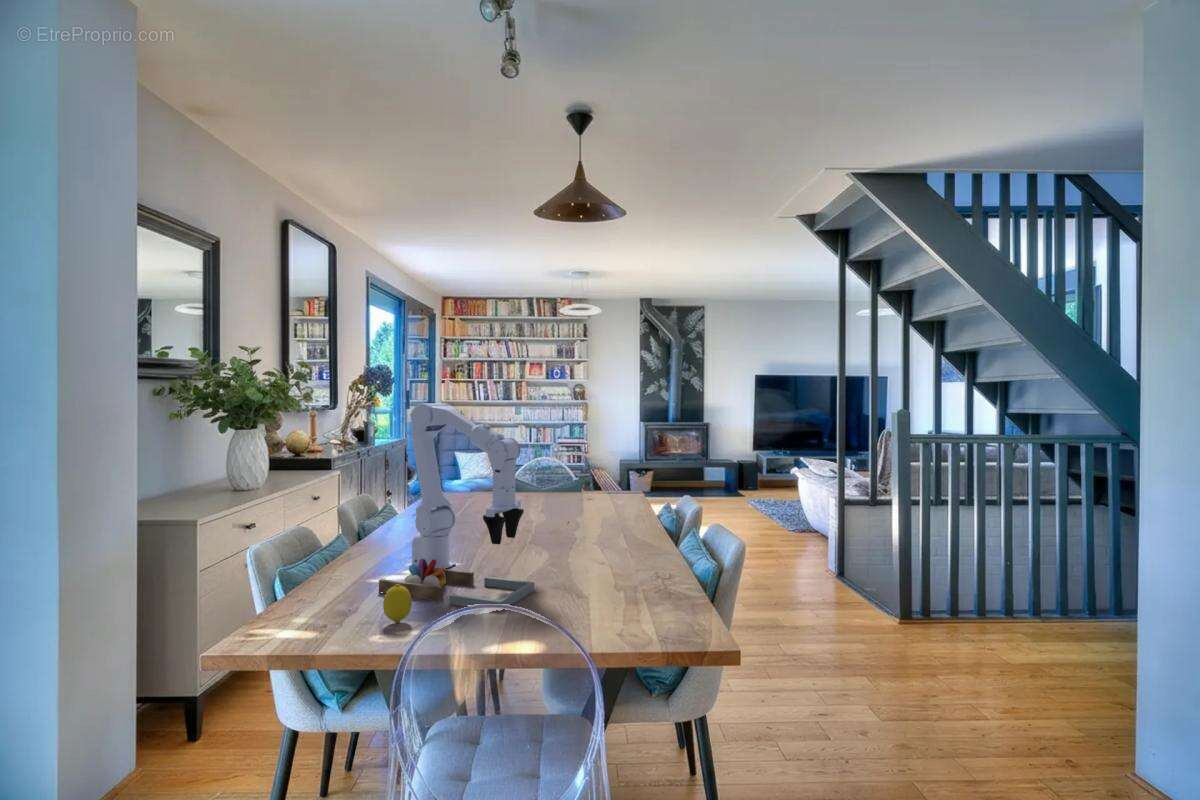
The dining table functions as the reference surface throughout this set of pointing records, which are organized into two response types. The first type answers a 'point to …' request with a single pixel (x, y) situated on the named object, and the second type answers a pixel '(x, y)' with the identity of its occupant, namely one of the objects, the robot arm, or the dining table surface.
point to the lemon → (397, 603)
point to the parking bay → (520, 587)
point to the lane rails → (429, 590)
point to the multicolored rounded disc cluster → (426, 574)
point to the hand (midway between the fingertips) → (503, 540)
